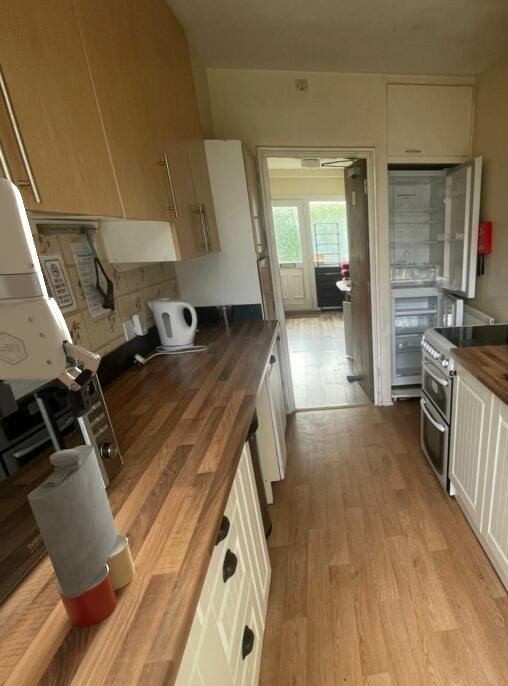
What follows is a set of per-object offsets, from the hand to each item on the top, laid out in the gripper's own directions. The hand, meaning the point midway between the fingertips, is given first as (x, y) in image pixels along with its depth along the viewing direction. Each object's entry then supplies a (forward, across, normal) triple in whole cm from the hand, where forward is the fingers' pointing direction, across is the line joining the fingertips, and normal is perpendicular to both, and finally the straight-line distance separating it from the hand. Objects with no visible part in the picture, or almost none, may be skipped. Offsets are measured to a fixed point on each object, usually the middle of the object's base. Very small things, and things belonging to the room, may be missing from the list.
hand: (45, 414), depth 60 cm
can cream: (+33, +1, +3) cm, 34 cm away
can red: (+33, +1, -4) cm, 34 cm away
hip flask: (+27, +1, 0) cm, 27 cm away
